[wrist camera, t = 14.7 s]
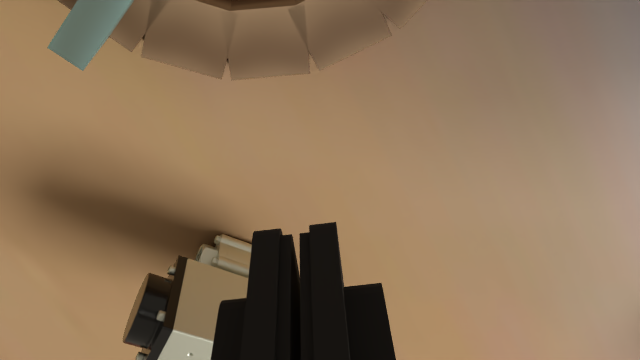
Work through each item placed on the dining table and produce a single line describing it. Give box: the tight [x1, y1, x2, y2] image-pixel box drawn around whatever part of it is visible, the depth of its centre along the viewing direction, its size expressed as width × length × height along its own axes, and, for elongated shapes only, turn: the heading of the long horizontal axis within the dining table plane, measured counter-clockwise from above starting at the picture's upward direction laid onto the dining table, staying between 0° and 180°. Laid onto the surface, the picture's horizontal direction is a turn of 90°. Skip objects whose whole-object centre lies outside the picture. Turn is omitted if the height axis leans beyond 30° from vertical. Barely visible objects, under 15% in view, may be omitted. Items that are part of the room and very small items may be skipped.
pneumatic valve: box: [123, 234, 252, 360], centre depth 38 cm, size 6×12×12 cm, turn 63°
